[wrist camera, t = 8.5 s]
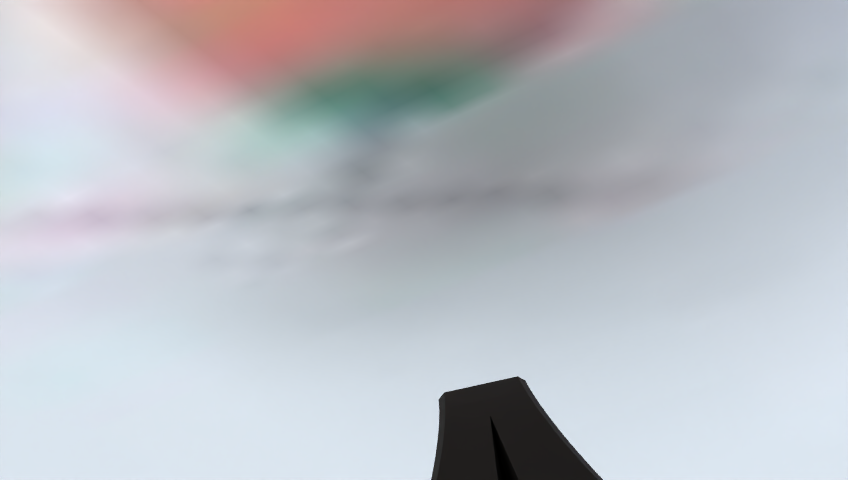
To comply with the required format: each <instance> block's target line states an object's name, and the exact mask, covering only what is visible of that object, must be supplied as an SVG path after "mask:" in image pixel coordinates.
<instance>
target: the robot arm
mask: <svg viewBox="0 0 848 480" xmlns="http://www.w3.org/2000/svg"><path fill="white" fill-rule="evenodd" d="M439 409H440V414H439V433H438V442H437V450H436V457H435V463H434V468H433V473H432V479H431V480H603V479H602V478H601V477H600V476H599V475H598V474H597V473H596V472H595V471H594V470H593V469H592V468H591V466H590V465H589V464H588V463H587V462H586V461H585V460H584V458H583V457H582V456H581V455H580V454H579V453H578V452H577V451H576V449H575V448H574V447H573V446H572V445H571V444H570V443H569V441H568V440H567V439H566V438H565V437H564V435H563V434H562V433H561V432H560V430H559V429H558V428H557V427H556V425H555V424H554V423H553V421H552V420H551V419H550V418H549V416H548V415H547V414H546V412H545V411H544V409H543V408H542V407H541V405H540V404H539V402H538V401H537V399H536V398H535V396H534V395H533V393H532V392H531V390H530V388H529V387H528V385H527V383H526V381H525V380H523V379H521V378H520V377H513V378H508V379H504V380H499V381H495V382H490V383H486V384H481V385H477V386H472V387H468V388H463V389H458V390H454V391H449V392H445V393H444V394H443V395H442V396H441V397H440V399H439Z"/></svg>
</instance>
